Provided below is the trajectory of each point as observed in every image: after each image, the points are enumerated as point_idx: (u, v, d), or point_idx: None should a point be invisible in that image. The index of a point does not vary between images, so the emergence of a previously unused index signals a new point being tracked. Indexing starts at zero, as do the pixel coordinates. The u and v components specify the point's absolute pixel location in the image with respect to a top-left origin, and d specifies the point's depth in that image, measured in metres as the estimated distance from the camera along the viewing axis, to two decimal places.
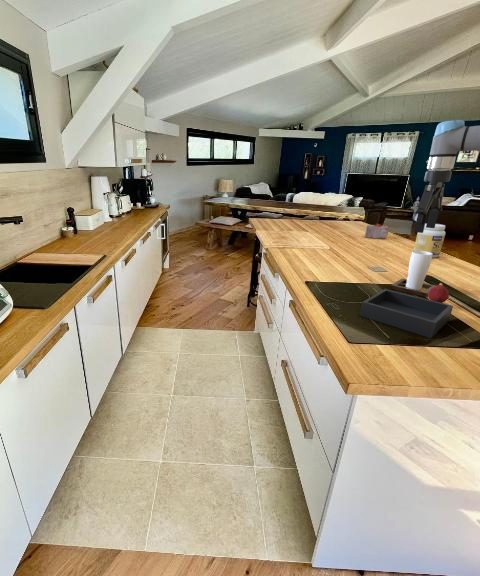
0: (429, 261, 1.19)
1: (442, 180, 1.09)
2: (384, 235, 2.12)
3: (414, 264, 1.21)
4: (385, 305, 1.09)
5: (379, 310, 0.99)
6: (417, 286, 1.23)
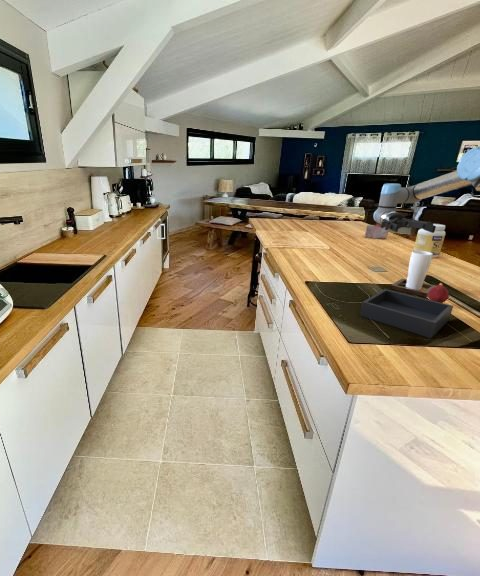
0: (429, 261, 1.19)
1: (390, 216, 1.42)
2: (384, 235, 2.12)
3: (414, 264, 1.21)
4: (385, 305, 1.09)
5: (379, 310, 0.99)
6: (417, 286, 1.23)
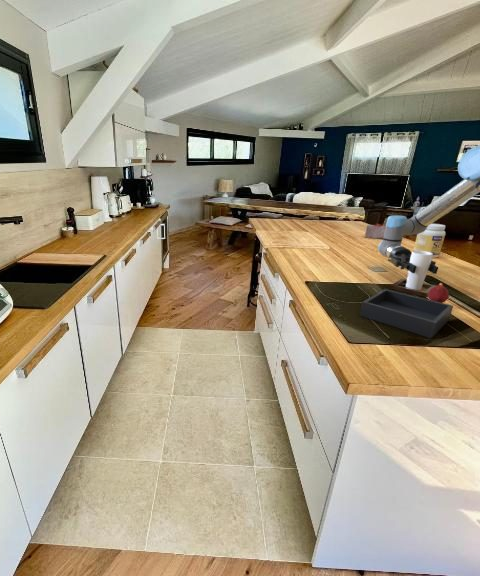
0: (429, 261, 1.19)
1: (396, 251, 1.36)
2: None
3: (414, 264, 1.21)
4: (385, 305, 1.09)
5: (379, 310, 0.99)
6: (417, 286, 1.23)
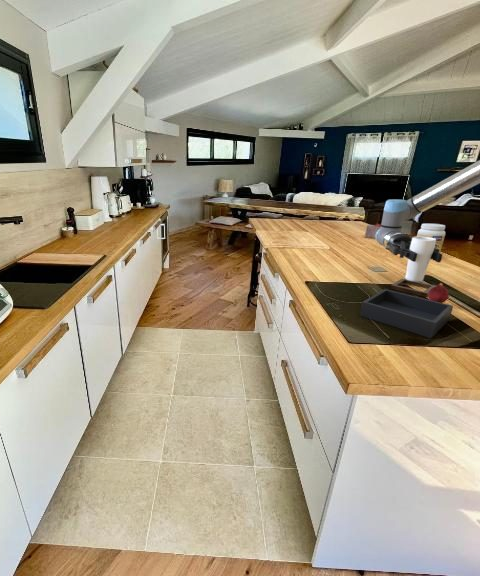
0: (432, 248, 1.04)
1: (395, 238, 1.21)
2: None
3: (415, 251, 1.06)
4: (385, 305, 1.09)
5: (379, 310, 0.99)
6: (418, 277, 1.08)
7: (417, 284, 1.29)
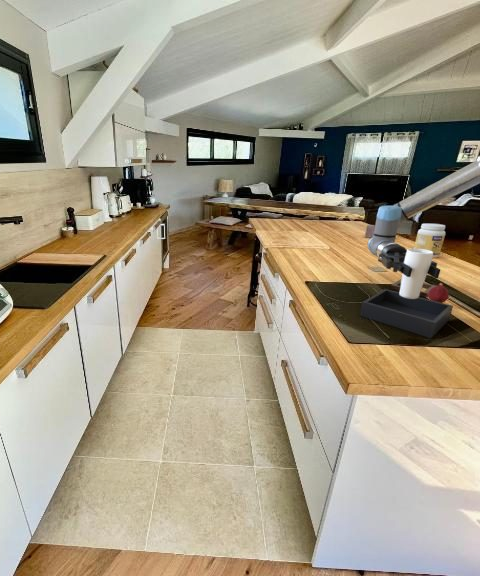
0: (429, 262, 0.93)
1: (388, 249, 1.10)
2: None
3: (410, 265, 0.95)
4: (385, 305, 1.09)
5: (379, 310, 0.99)
6: (413, 294, 0.97)
7: None
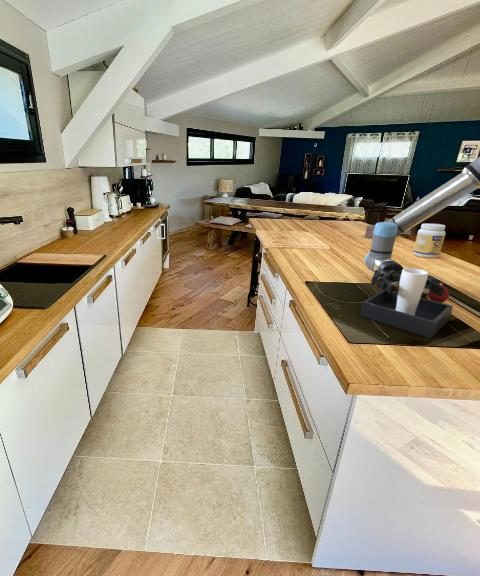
0: (424, 282, 0.94)
1: (385, 266, 1.11)
2: None
3: (405, 285, 0.96)
4: (385, 305, 1.09)
5: (379, 310, 0.99)
6: (408, 313, 0.99)
7: None
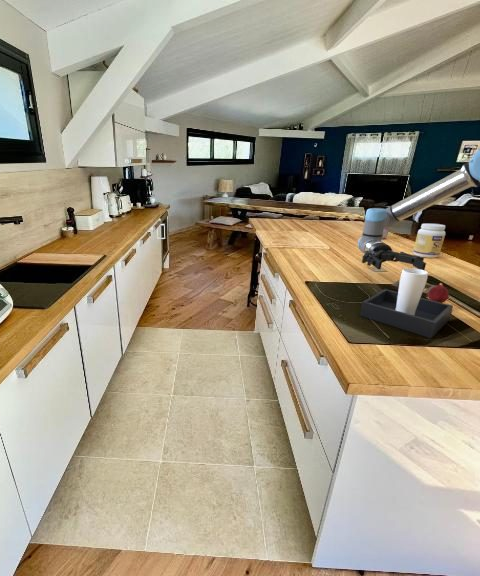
0: (424, 282, 0.94)
1: (375, 247, 1.22)
2: (384, 235, 2.12)
3: (405, 285, 0.96)
4: (385, 305, 1.09)
5: (379, 310, 0.99)
6: (408, 313, 0.99)
7: None
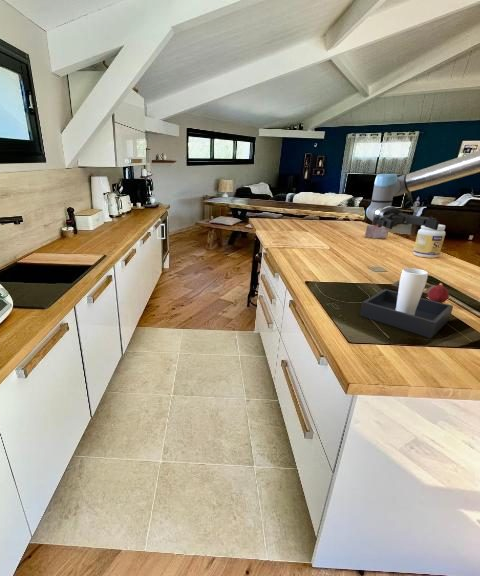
0: (424, 282, 0.94)
1: (385, 211, 1.20)
2: (384, 235, 2.12)
3: (405, 285, 0.96)
4: (385, 305, 1.09)
5: (379, 310, 0.99)
6: (408, 313, 0.99)
7: None
